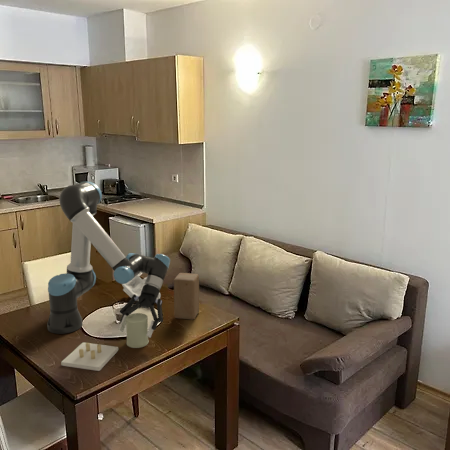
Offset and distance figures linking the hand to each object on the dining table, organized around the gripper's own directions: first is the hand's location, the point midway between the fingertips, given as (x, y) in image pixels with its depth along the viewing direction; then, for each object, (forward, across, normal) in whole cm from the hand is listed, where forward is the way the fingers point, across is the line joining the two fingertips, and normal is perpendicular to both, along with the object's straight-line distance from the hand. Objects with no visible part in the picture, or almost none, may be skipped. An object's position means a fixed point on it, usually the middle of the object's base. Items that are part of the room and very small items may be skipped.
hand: (134, 333), depth 192 cm
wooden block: (-21, -7, -28) cm, 36 cm away
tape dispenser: (-25, +22, -33) cm, 47 cm away
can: (+2, 0, -5) cm, 6 cm away
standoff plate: (+15, +10, +7) cm, 19 cm away
